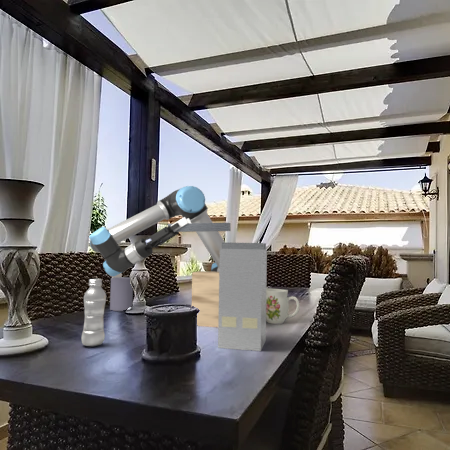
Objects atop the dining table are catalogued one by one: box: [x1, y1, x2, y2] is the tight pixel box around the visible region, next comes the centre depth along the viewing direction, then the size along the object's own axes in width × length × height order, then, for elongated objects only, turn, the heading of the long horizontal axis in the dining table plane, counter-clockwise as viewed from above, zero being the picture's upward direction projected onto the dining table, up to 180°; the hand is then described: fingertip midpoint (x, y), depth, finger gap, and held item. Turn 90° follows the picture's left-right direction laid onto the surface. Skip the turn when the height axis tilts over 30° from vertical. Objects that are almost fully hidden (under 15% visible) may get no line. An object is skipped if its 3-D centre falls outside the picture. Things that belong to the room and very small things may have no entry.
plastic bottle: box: [81, 278, 107, 347], centre depth 115 cm, size 6×7×20 cm
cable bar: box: [167, 222, 232, 233], centre depth 145 cm, size 4×24×3 cm, turn 78°
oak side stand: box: [191, 270, 219, 328], centre depth 150 cm, size 9×18×20 cm, turn 77°
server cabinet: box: [217, 242, 268, 352], centre depth 120 cm, size 13×13×32 cm
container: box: [109, 276, 134, 312], centre depth 180 cm, size 10×10×15 cm
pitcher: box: [266, 287, 300, 325], centre depth 156 cm, size 11×18×14 cm, turn 69°
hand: (188, 220), depth 146 cm, fingers closed on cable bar, 4 cm apart
